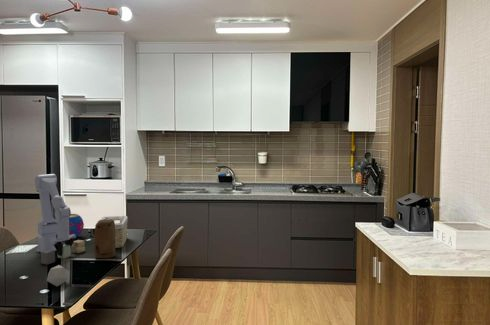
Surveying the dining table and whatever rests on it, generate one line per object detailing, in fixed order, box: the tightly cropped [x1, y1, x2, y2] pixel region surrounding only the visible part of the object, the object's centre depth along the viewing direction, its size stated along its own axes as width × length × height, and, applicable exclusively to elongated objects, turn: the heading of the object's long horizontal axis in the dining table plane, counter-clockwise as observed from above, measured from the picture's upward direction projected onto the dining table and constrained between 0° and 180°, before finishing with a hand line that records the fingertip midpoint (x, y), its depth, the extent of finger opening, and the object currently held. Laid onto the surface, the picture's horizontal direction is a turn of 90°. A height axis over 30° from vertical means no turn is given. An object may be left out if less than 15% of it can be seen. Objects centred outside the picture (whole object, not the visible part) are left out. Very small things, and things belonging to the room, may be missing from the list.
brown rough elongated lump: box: [93, 219, 116, 259], centre depth 197 cm, size 11×8×20 cm
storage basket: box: [94, 215, 129, 249], centre depth 223 cm, size 24×16×15 cm
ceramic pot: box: [56, 213, 85, 239], centre depth 235 cm, size 18×18×15 cm
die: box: [46, 264, 70, 287], centre depth 160 cm, size 8×9×10 cm
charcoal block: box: [40, 250, 56, 265], centre depth 188 cm, size 4×4×6 cm
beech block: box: [71, 239, 86, 254], centre depth 207 cm, size 4×4×6 cm
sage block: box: [57, 243, 72, 259], centre depth 198 cm, size 4×4×6 cm
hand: (64, 254), depth 198 cm, fingers closed on sage block, 4 cm apart
